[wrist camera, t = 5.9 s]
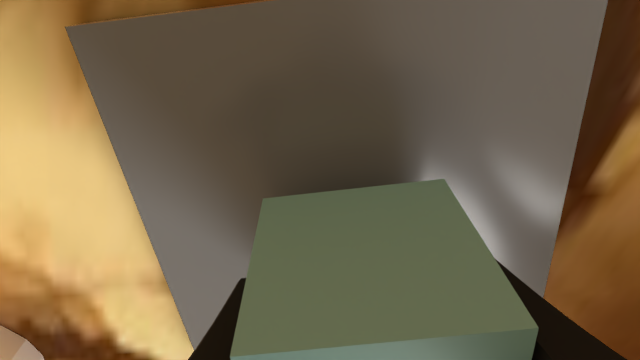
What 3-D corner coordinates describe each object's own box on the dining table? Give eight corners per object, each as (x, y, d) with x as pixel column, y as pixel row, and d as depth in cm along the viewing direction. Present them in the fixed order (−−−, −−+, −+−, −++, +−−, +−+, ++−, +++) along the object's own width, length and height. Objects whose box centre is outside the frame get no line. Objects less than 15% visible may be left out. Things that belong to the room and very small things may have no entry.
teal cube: (444, 178, 11) (539, 328, 6) (438, 309, 13) (503, 483, 9) (263, 198, 11) (229, 356, 6) (289, 323, 13) (279, 501, 9)
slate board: (596, -43, 10) (617, -44, 10) (524, 327, 17) (533, 342, 16) (81, 23, 11) (64, 27, 10) (207, 356, 17) (203, 372, 17)
